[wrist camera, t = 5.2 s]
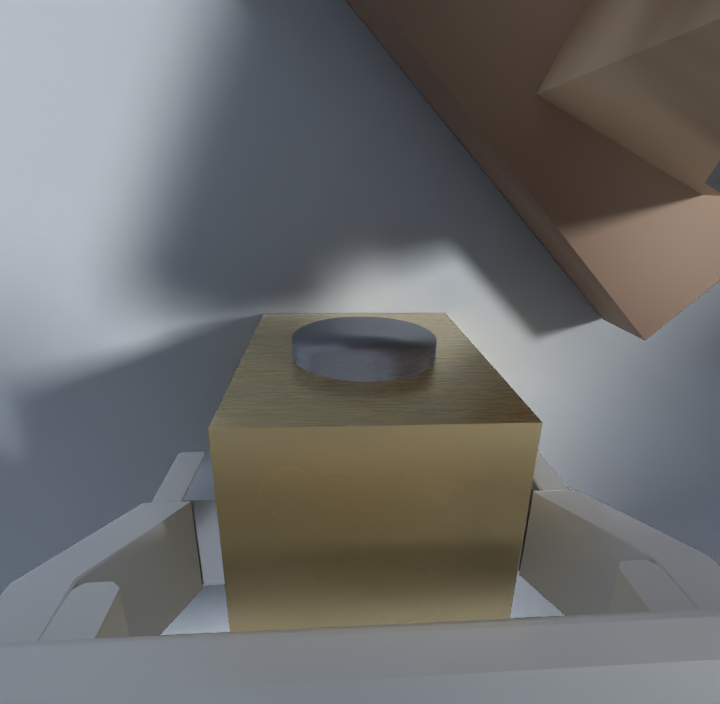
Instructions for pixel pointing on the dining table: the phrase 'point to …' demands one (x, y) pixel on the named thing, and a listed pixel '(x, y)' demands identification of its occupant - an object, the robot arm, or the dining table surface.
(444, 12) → the shaft stand
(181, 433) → the dining table surface
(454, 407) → the tan rectangular block
